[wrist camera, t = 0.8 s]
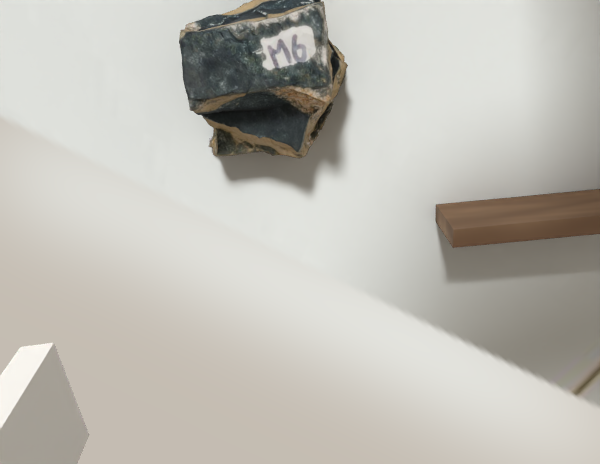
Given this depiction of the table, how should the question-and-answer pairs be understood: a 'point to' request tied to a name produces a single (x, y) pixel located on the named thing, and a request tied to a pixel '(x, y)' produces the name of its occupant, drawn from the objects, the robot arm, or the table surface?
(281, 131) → the rock
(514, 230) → the box
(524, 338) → the table surface
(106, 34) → the table surface
